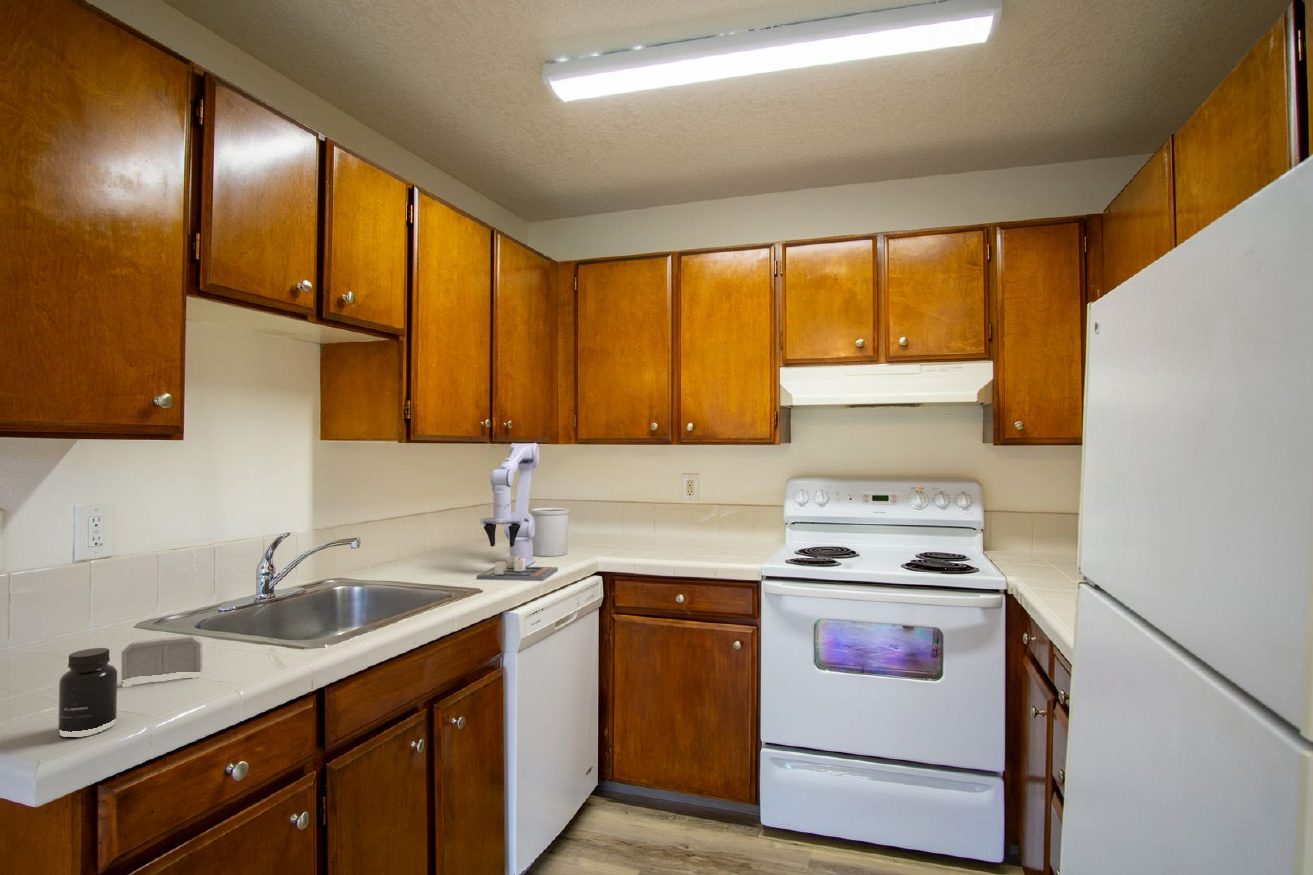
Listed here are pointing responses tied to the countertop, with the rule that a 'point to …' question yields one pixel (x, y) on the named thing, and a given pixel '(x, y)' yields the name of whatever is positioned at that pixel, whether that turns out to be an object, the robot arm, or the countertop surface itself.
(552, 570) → the breaker panel
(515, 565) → the block
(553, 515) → the utensil holder
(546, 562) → the countertop surface
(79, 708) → the supplement bottle
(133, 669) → the light switch
